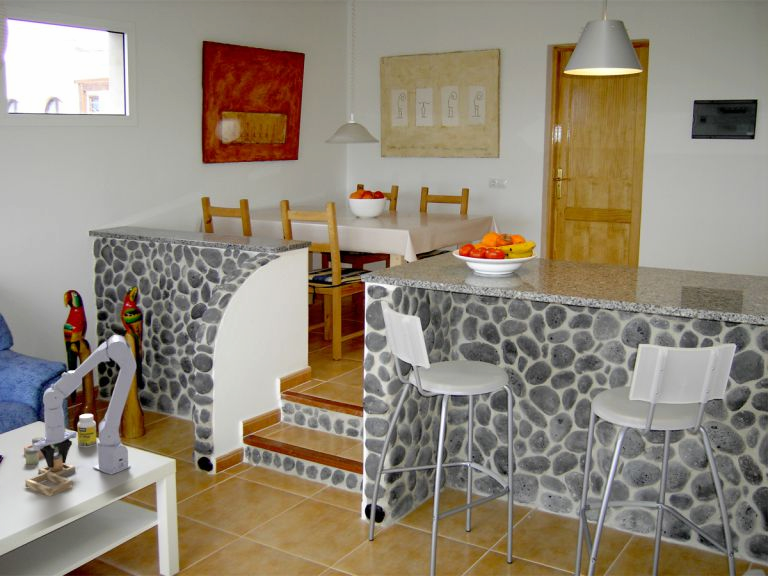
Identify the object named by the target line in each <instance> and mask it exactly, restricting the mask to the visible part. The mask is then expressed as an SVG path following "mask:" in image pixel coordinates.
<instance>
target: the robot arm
mask: <svg viewBox="0 0 768 576" xmlns="http://www.w3.org/2000/svg"><path fill="white" fill-rule="evenodd" d="M110 359H111V360H112V361H114V362H116V364H117V365H118V366H119V368H120V369H119V372H118V376H117V378H116V381H115V385H114V389H113V391H112V395H111V397H110V401H109V404H108V407H107V410H106V412H105V414H104V418H103V419H101V421H100V422H99V424H98V440H97V458H98V462H97V463H98V464H96V465H94V466H92V468H93V469H94V470H98V471H101V472H103V473H106V474H108V475H113V474H116V473H118V472H121V471H123V470H126V469H129V468H131V465H130V464H129V454H128V453H129V452H128V451H129V450H128V448H127V447H126V446H125V445H124V444H123V443H122V441H121V440H122V439H121V437H120V432H119V429H120V425H121V418H122V416H123V412H124V409H125V406H126V402H127V398H128V396H129V394H130V393H129V392H130V390H131V386H132V382H133V381H134V380H133V379H134V377H135V373H136V370H137V362H136V359H135V357H134V353H133V351H132V348H131V345H130V342H128V341H127V339H126V338H125V337H124V336H122V335H119V334H114V335H111V336H110V337H109V338H108V339H107V341H104V342H102V343H101V344H100V345H99V346H98V347H97V348H96V349H95V350H93V352H92V353H91V354H90V355H88V357H87V358H85V360H84V361H83V362H82V363H81V364H80V365H79V366H78V367H77V368H76V369H75V370H68V371H67V372H65V371H64V372H63V373H62V374H61V377H60V379H58V380H57V381H56V382H55V383H51V385H50V387H48V388H47V389H46V390H44V393H43V399H42V403H43V405H44V407H43V410H44V412H43V414H44V416H43V417H44V430H45V431H44V433H45V434H44V435H45V436H44V437H43V438H44V439H42V440H40V441H39V442H37V443H34V444H33V447H34V450H36V451H38V450H40V451H41V452H42V454H43V455H44V456H43V457H44V459H45V462H46V466H48V467H50V468H53V466H54V453H55V451H56V448H55V447H54V448H52V447H51V445H53V444H56V443H57V446H58V447H57V450H58V453H62V460H63V463H66V460H67V457H68V454H69V451H70V448H71V446H72V445H73V441H72V440H70V439H76V438H77V431H74V430H71V431H65V433H64V415H65V414H64V408H63V402H64V399H65V398H68V397H69V396H70V395H71V394H72V393H73V392H74V391H75V390H76V389H78V387H79V386H81V385H82V384H83V378H84V377H85V376H86V375H87V374H88V373H89V372H91V371H92V370H93V369H94V368H96V366H97V365H99V364H100V363H102V362H110V361H111V360H110Z"/></svg>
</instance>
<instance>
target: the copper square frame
mask: <svg viewBox="0 0 768 576" xmlns="http://www.w3.org/2000/svg"><path fill="white" fill-rule="evenodd" d="M51 447H52V448H54V449H55V447H54V446H53V445H51ZM28 448H33V447H32V444H30V445H27V446H24V447H23V454H24V455H25V450H26V449H28ZM38 453H39V459H40V458H43V457H44V455H43V454H42V452H41V451H40V450H38Z"/></svg>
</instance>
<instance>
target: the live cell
mask: <svg viewBox="0 0 768 576" xmlns="http://www.w3.org/2000/svg"><path fill="white" fill-rule="evenodd" d="M61 470H63V460H62V453H59V452H54V466H53V468H50V471H51V472H58V471H61Z"/></svg>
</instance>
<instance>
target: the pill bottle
mask: <svg viewBox="0 0 768 576" xmlns="http://www.w3.org/2000/svg"><path fill="white" fill-rule="evenodd" d="M97 444H98V441H97V423H96V421H95V420H94V414H92V413H84V414H82V413H81V415H79V420H78V422H77V446H78V447H80V448H90V447H94V446H95V445H97Z"/></svg>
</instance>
